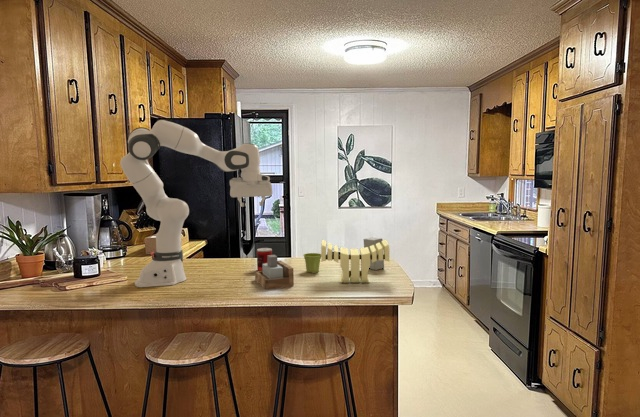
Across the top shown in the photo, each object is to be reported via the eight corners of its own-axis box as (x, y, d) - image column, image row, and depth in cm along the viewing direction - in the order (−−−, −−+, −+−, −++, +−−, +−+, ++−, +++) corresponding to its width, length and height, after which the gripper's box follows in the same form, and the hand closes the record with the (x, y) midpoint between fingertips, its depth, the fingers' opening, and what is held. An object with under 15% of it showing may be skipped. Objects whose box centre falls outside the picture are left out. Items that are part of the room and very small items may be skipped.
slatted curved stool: (321, 284, 181) (321, 245, 180) (323, 275, 197) (322, 239, 196) (389, 284, 180) (389, 244, 178) (385, 275, 196) (385, 239, 194)
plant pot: (315, 268, 213) (315, 252, 212) (325, 272, 205) (325, 255, 204) (300, 271, 208) (299, 254, 207) (309, 274, 200) (309, 257, 199)
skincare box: (384, 268, 210) (384, 238, 208) (374, 270, 206) (374, 239, 204) (373, 265, 217) (373, 236, 215) (363, 267, 213) (363, 237, 211)
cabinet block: (270, 287, 179) (269, 259, 178) (262, 280, 190) (261, 254, 189) (283, 285, 181) (282, 257, 180) (275, 279, 192) (274, 253, 191)
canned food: (273, 268, 214) (273, 247, 213) (270, 272, 206) (269, 250, 205) (259, 268, 215) (259, 247, 214) (255, 272, 207) (255, 250, 206)
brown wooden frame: (255, 279, 191) (254, 263, 190) (280, 276, 196) (280, 260, 195) (266, 289, 175) (265, 271, 174) (293, 285, 180) (293, 268, 179)
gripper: (230, 177, 189) (231, 207, 190) (273, 177, 197) (273, 205, 198) (228, 177, 195) (229, 206, 196) (269, 177, 203) (269, 204, 204)
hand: (251, 206), depth 197 cm, fingers open, 8 cm apart
